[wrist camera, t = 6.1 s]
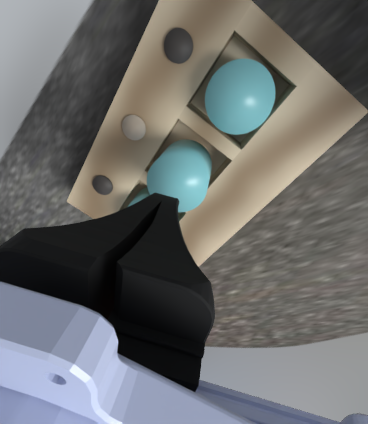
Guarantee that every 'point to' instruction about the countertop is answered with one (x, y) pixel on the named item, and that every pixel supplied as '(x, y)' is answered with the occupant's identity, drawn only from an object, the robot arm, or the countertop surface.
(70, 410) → the robot arm
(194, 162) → the button
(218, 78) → the button
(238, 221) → the button board
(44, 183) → the countertop surface
